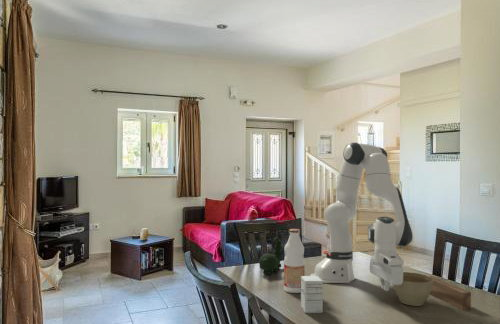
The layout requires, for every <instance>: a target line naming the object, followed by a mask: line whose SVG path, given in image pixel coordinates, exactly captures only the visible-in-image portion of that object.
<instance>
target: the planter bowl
mask: <svg viewBox="0 0 500 324" xmlns="http://www.w3.org/2000/svg"><path fill="white" fill-rule="evenodd" d="M429 276H430V275H426V274H422V273H419V272H408V271H407V272H406V271H403V283H402V284H401V285H393V284H392V286H393V287H392V288H393V289H394V291H395V294H396V296H397V297H398V301H399V302H400V303H401V304H404V305H406V306H413V307H419V306H423V305H425V301H426V300H427V299H428V298H429V296H431V295H430V293H431V290H432V283H433V279H432V278H431V277H429Z"/></svg>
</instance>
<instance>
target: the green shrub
mask: <svg viewBox="0 0 500 324" xmlns="http://www.w3.org/2000/svg"><path fill="white" fill-rule="evenodd" d="M273 242H274V244H275V245H274V248H273V249H274V251H273V254H272V253H270V252H268V253H267V252H266V253H264V254H262V255H261V256H260V257H259V261H258V264H259V269H261V270H263V271H262V273H263V275H264V276H267V275H269V276H271V274H272V272H273V273H277V272H280V271H281V268H282V264H281V261H282V260H283V258H282V256H281V255H283V254H284V252H282V250H283V248H284V247H283V246H282V245H283V242H282V241H281V240H280V238H279V237H278V236H275V237H274V238H273Z"/></svg>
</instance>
